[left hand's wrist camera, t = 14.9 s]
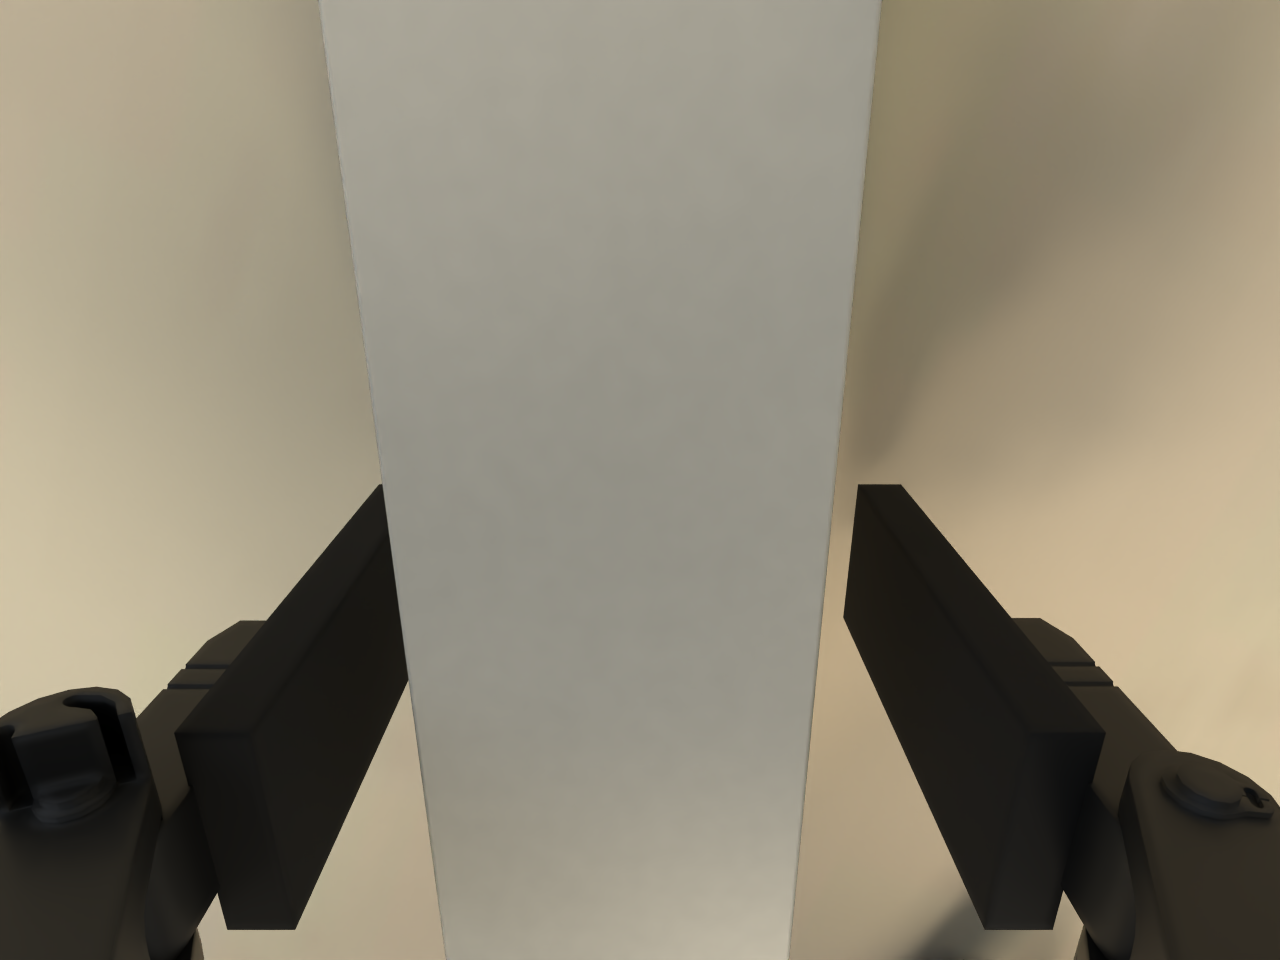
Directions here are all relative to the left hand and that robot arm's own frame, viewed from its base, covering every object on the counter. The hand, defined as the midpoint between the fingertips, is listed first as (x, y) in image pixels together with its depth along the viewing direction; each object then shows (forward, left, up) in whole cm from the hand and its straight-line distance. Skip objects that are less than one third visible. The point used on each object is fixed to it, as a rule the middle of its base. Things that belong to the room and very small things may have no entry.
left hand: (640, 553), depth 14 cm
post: (+30, -6, -3) cm, 30 cm away
